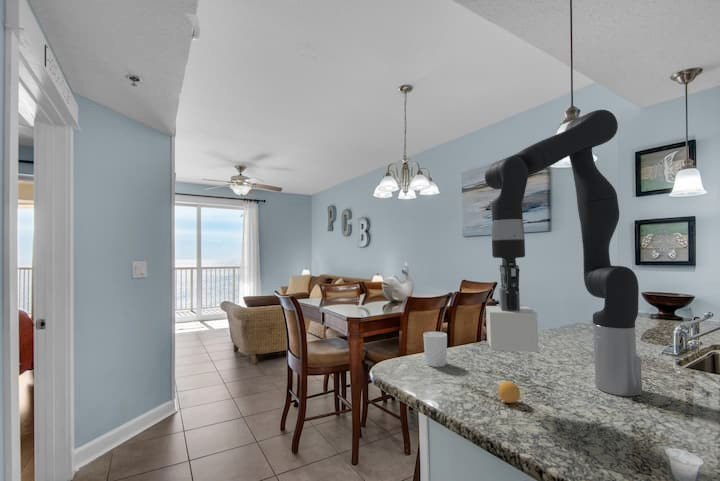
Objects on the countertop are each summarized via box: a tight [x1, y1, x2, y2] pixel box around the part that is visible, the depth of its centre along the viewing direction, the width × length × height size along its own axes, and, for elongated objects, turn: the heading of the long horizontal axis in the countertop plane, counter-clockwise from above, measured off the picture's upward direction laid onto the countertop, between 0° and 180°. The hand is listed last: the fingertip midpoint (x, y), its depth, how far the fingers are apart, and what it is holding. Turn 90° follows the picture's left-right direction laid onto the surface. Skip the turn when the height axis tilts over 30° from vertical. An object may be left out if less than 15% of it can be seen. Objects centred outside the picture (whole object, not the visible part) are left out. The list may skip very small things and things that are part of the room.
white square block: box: [485, 287, 540, 353], centre depth 85 cm, size 10×10×14 cm
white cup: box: [422, 331, 448, 368], centre depth 116 cm, size 8×8×10 cm
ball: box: [497, 380, 521, 404], centre depth 86 cm, size 5×5×5 cm
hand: (510, 307), depth 85 cm, fingers closed on white square block, 4 cm apart
